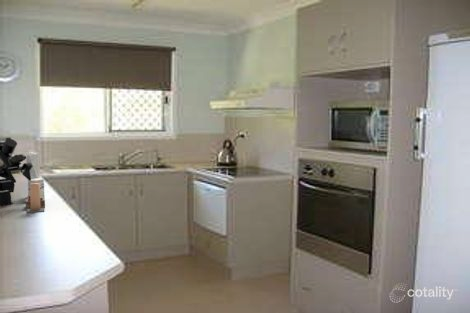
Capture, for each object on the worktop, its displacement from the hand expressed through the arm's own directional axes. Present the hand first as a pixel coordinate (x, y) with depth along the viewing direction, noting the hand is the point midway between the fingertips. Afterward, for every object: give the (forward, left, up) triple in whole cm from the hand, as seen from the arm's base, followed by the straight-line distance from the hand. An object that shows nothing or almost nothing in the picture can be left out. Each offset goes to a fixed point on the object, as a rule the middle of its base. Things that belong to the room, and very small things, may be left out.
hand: (23, 181), depth 250 cm
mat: (+15, -7, -14) cm, 21 cm away
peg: (+14, -7, -13) cm, 21 cm away
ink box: (-11, +20, -14) cm, 27 cm away
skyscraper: (-21, +28, -14) cm, 38 cm away
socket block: (+7, +1, -14) cm, 15 cm away
